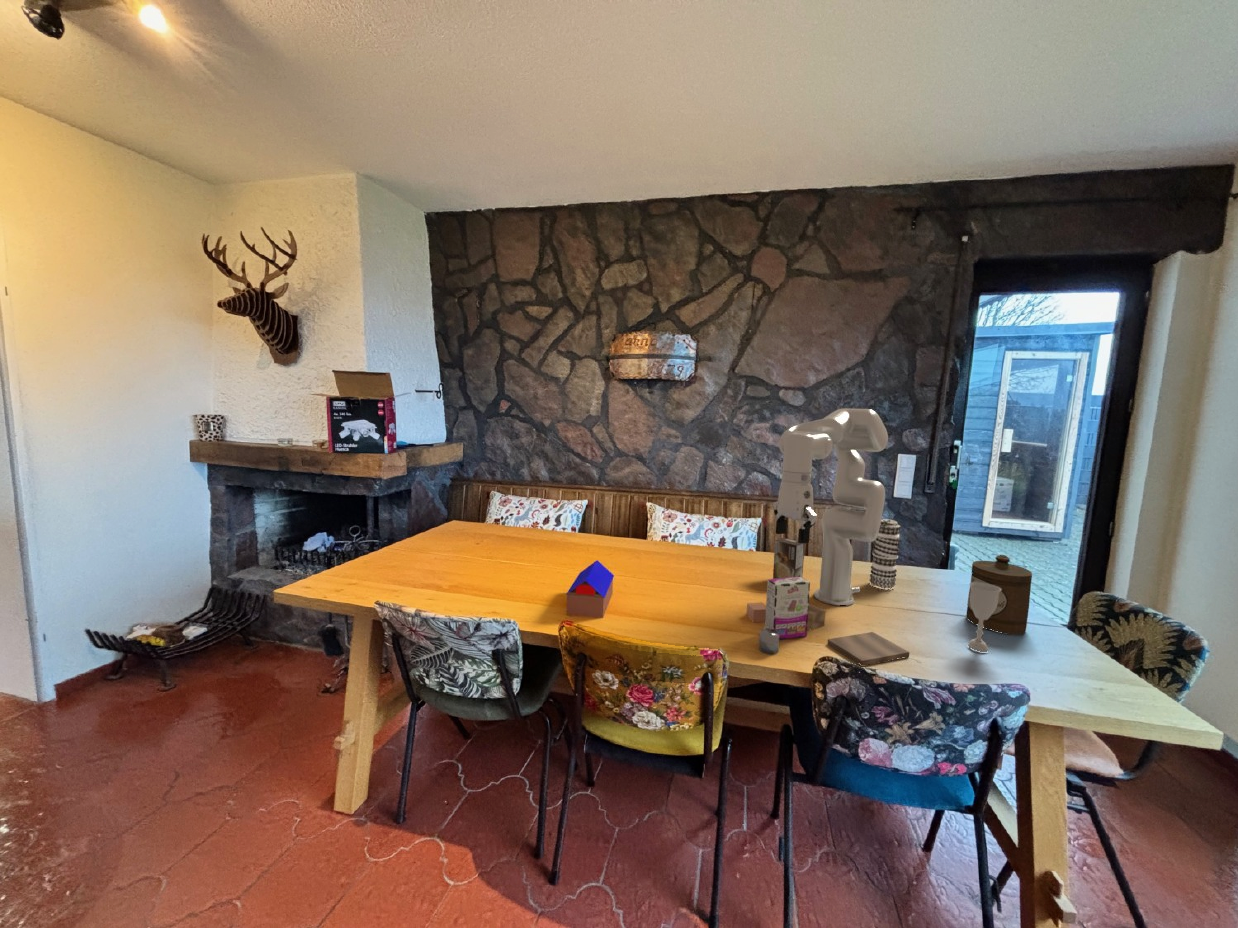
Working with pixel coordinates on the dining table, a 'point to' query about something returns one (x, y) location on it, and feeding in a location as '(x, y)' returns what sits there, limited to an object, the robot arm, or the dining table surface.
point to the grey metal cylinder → (769, 641)
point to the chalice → (982, 609)
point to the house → (590, 592)
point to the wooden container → (1004, 594)
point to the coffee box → (788, 558)
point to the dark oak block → (815, 617)
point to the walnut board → (867, 648)
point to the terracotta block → (756, 612)
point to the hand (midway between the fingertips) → (791, 538)
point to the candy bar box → (787, 606)
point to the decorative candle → (885, 554)
